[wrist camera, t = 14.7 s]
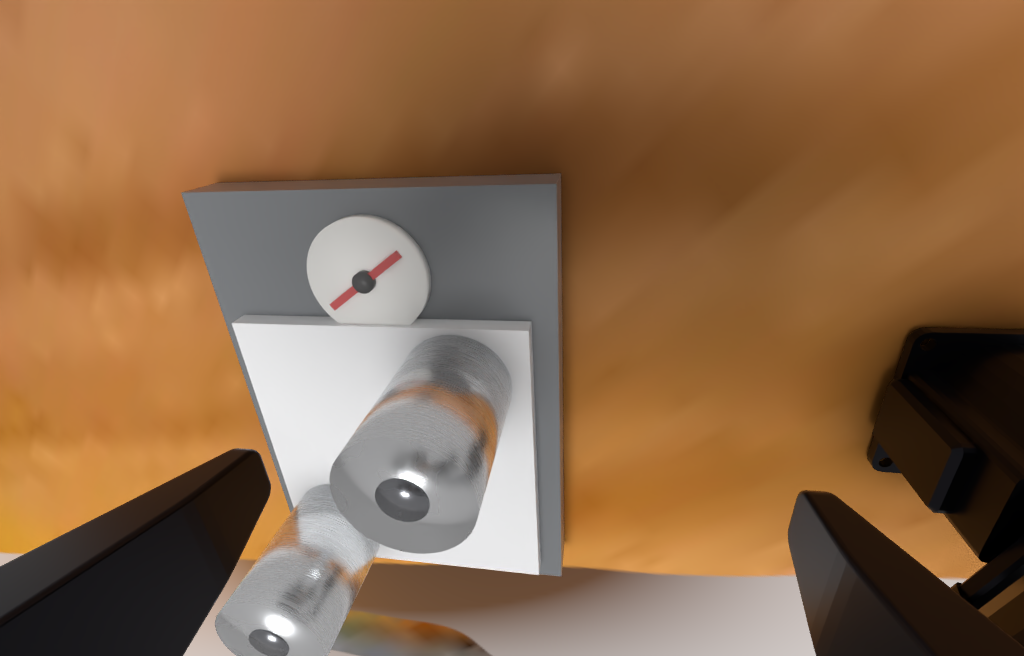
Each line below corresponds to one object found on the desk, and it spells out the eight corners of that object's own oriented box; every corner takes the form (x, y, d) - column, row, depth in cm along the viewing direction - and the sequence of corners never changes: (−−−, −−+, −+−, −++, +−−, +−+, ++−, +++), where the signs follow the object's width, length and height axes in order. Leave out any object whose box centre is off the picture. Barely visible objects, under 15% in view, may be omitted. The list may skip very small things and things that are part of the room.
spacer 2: (515, 433, 20) (483, 562, 15) (411, 426, 21) (345, 547, 15) (509, 336, 18) (469, 444, 13) (394, 333, 19) (312, 434, 13)
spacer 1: (378, 489, 23) (309, 615, 17) (392, 555, 25) (333, 687, 19) (291, 480, 23) (198, 599, 18) (311, 545, 25) (233, 669, 20)
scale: (560, 173, 18) (554, 189, 15) (564, 542, 26) (559, 593, 24) (217, 182, 20) (162, 197, 18) (321, 519, 29) (293, 562, 26)
